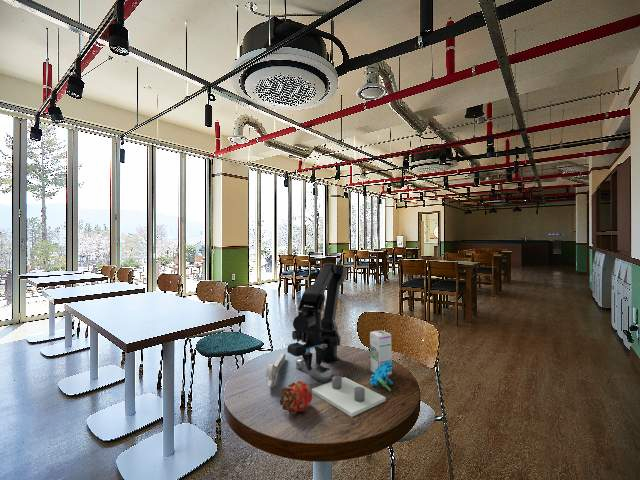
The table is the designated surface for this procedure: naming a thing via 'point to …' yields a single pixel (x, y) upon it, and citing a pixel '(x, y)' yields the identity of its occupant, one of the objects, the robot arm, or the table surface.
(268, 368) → the wrench
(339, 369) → the table surface
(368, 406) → the peg board
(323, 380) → the ball-ended metal rod
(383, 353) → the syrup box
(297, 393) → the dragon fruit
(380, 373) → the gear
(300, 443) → the table surface
